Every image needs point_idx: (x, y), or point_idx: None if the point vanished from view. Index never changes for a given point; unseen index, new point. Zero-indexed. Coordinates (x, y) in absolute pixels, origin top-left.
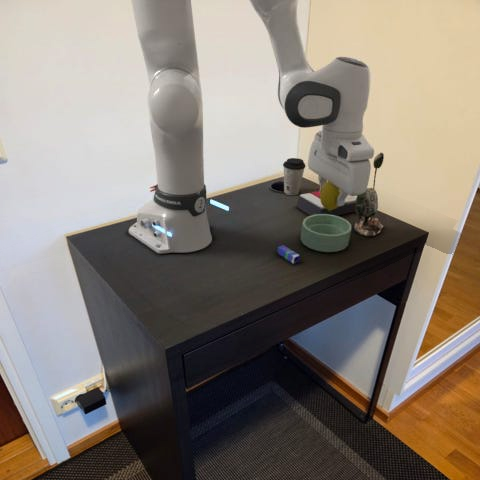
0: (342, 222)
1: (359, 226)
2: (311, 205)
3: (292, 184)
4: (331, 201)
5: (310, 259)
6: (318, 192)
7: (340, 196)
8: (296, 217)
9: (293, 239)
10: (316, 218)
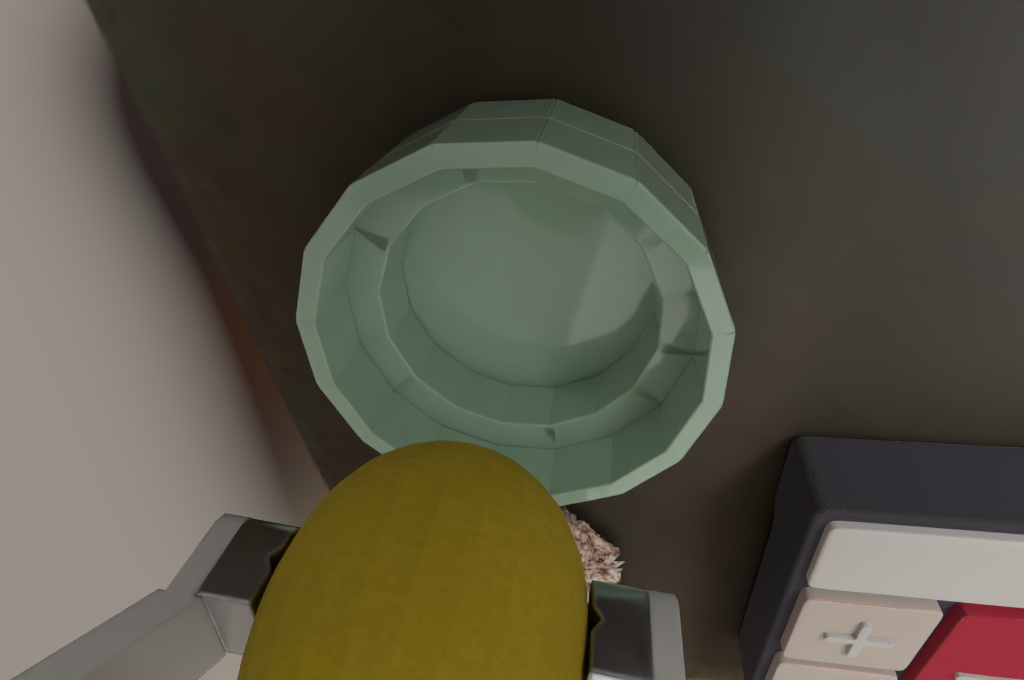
0: None
1: (581, 541)
2: (954, 506)
3: None
4: (301, 527)
5: (330, 8)
6: None
7: (82, 639)
8: (989, 350)
9: (694, 83)
10: (697, 382)
